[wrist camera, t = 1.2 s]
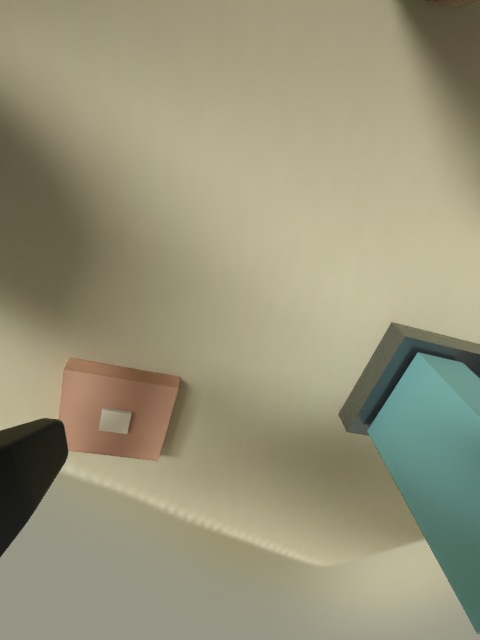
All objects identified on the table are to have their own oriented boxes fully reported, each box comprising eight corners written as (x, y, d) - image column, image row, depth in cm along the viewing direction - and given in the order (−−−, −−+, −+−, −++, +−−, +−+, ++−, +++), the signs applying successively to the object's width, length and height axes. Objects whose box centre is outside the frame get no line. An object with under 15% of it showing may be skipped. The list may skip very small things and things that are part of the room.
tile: (63, 430, 23) (54, 451, 21) (72, 352, 20) (62, 371, 18) (159, 442, 24) (157, 463, 23) (179, 371, 21) (178, 390, 20)
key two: (364, 434, 22) (477, 647, 13) (417, 352, 19) (605, 551, 11) (405, 441, 23) (539, 647, 14) (462, 362, 20) (673, 557, 11)
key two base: (338, 414, 24) (366, 473, 20) (391, 322, 21) (437, 370, 17) (432, 430, 25) (475, 487, 22) (494, 348, 22) (558, 397, 18)
